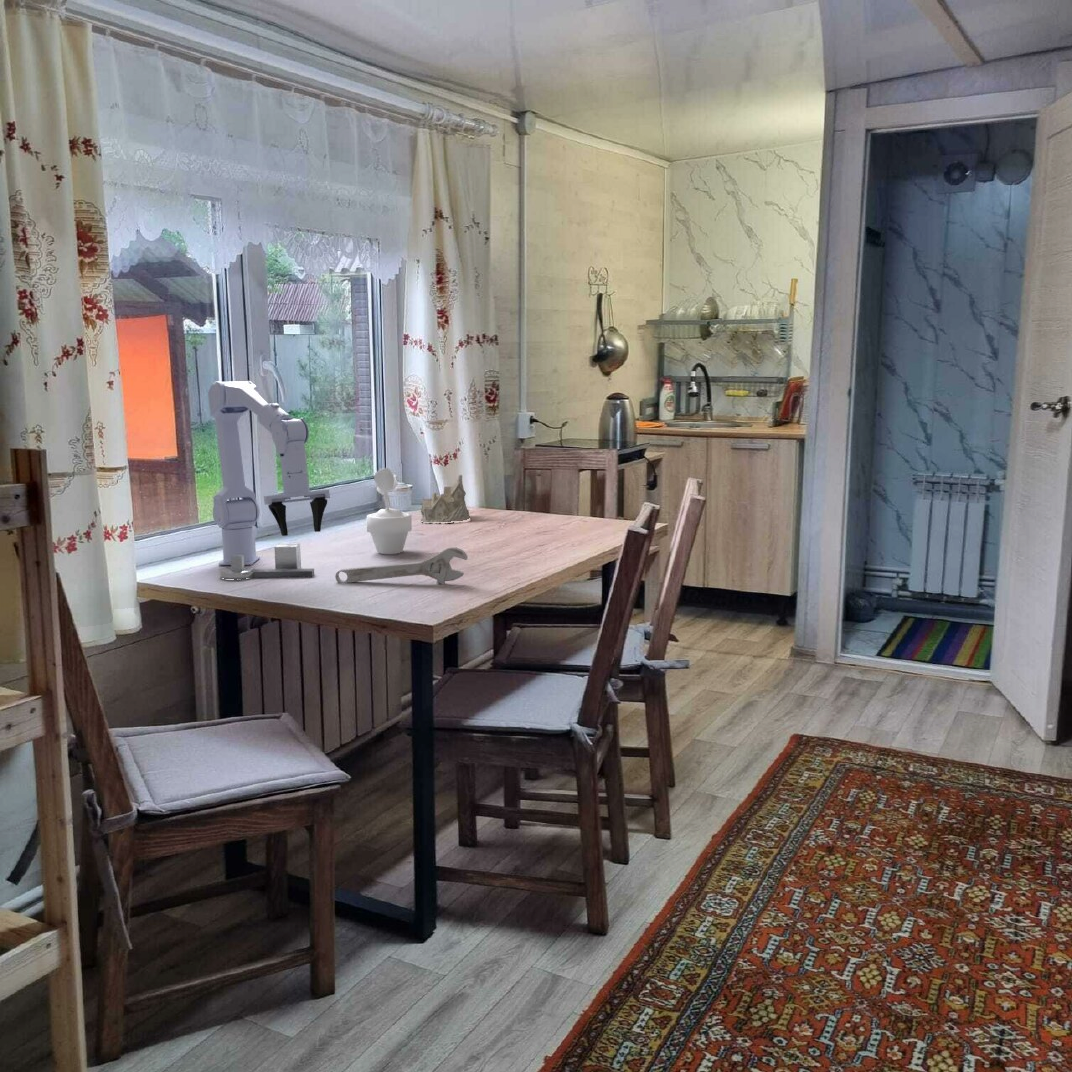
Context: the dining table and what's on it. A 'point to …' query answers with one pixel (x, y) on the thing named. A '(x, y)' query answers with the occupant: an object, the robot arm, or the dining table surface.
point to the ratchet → (260, 571)
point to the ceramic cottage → (446, 505)
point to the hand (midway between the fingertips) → (301, 533)
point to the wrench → (410, 569)
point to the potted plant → (388, 518)
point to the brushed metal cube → (287, 556)
